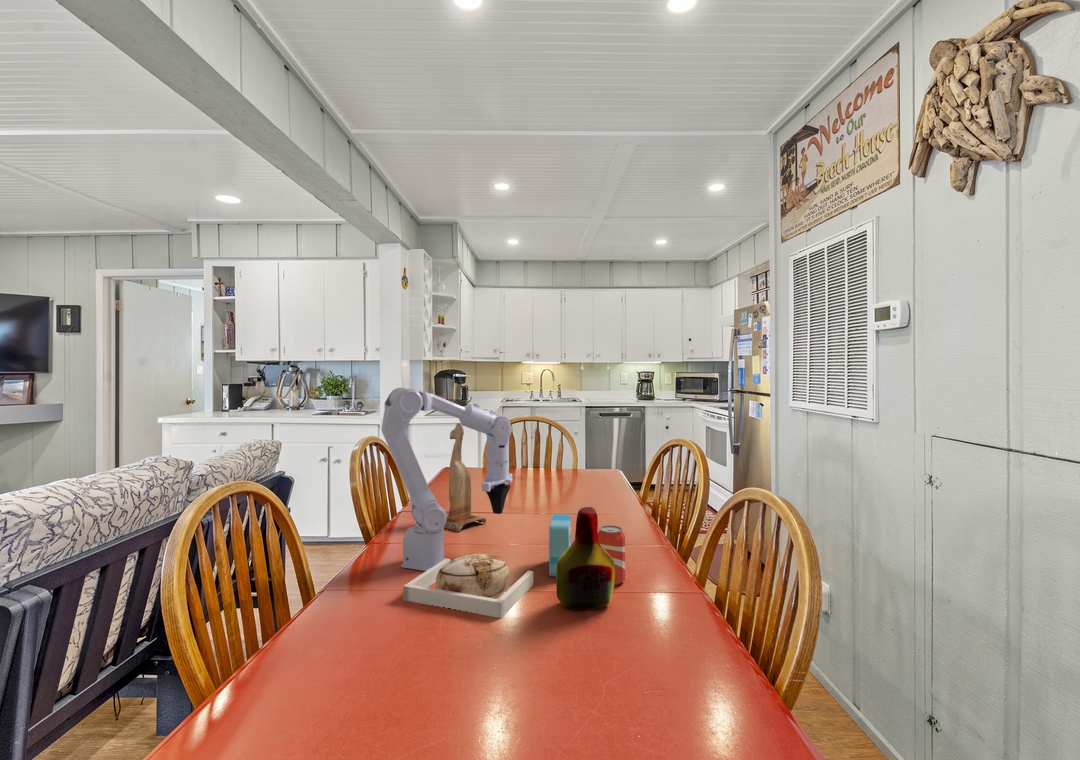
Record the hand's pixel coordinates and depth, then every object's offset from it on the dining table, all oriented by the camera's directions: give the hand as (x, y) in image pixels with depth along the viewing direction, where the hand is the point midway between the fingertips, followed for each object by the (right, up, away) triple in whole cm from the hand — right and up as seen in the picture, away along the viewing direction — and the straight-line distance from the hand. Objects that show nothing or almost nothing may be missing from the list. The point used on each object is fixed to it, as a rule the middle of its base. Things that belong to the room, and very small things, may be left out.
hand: (497, 513), depth 136 cm
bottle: (+20, -11, -31) cm, 39 cm away
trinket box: (-3, -11, -24) cm, 27 cm away
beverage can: (+27, -11, -19) cm, 35 cm away
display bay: (-4, -11, -25) cm, 27 cm away
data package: (+16, -11, -11) cm, 22 cm away
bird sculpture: (-13, -10, +24) cm, 30 cm away
